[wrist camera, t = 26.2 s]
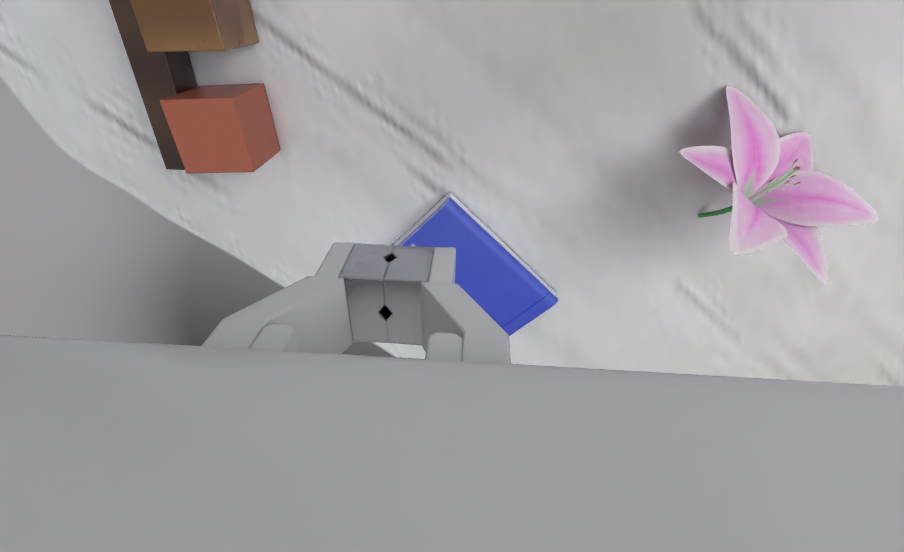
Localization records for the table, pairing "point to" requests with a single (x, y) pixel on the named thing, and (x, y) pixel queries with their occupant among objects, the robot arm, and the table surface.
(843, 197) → the lily
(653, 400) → the robot arm
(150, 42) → the oak block
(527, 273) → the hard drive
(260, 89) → the terracotta block
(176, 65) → the straightedge
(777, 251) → the table surface
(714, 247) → the table surface
